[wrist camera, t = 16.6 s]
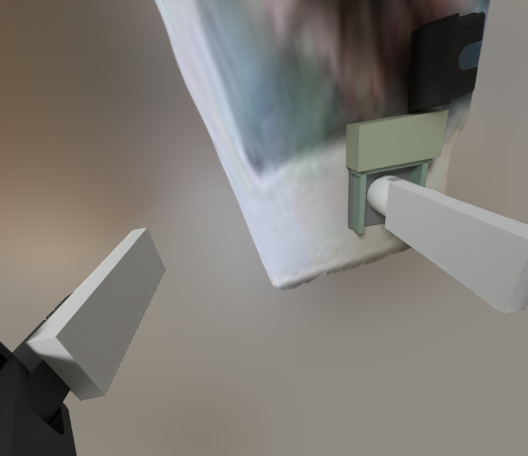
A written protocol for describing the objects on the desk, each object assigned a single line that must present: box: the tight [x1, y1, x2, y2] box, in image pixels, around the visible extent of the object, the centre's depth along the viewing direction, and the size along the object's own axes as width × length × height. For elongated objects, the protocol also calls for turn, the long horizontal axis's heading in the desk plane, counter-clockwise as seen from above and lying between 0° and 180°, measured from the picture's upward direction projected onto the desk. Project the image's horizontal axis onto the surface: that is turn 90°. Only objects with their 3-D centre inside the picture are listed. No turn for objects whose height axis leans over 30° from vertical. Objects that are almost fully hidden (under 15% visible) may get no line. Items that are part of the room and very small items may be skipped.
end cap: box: [409, 12, 485, 110], centre depth 32 cm, size 10×7×7 cm
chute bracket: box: [346, 109, 449, 234], centre depth 40 cm, size 20×14×4 cm
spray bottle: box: [367, 175, 444, 216], centre depth 35 cm, size 7×7×18 cm
